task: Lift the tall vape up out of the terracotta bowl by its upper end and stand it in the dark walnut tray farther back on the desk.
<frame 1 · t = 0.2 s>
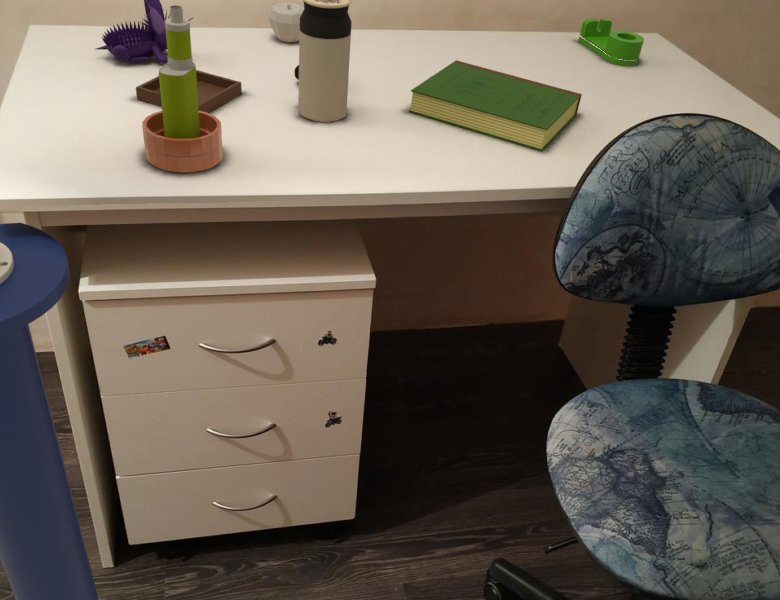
vape: (184, 156, 117), resting in bowl
tray: (190, 96, 133), on the table
hardcover book: (492, 114, 140), on the table
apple: (288, 40, 159), on the table
green stand: (609, 53, 171), on the table
tape measure: (318, 87, 142), on the table
travel mug: (322, 114, 133), on the table
creature: (147, 59, 144), on the table
bowl: (184, 157, 117), on the table
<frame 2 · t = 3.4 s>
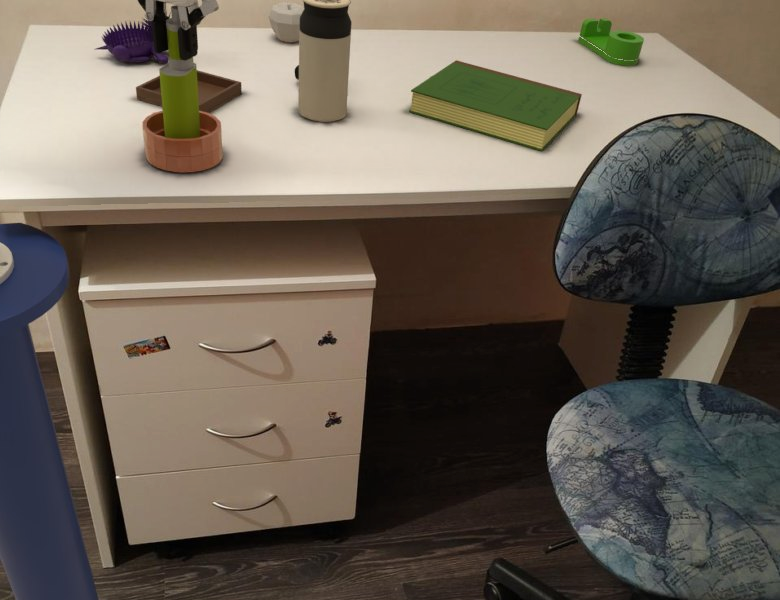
hand: (176, 52, 107), 15 cm above the table, tool pointing down, fingers closed on vape, 3 cm apart
vape: (184, 156, 117), resting in bowl, touching gripper
everything else where it was.
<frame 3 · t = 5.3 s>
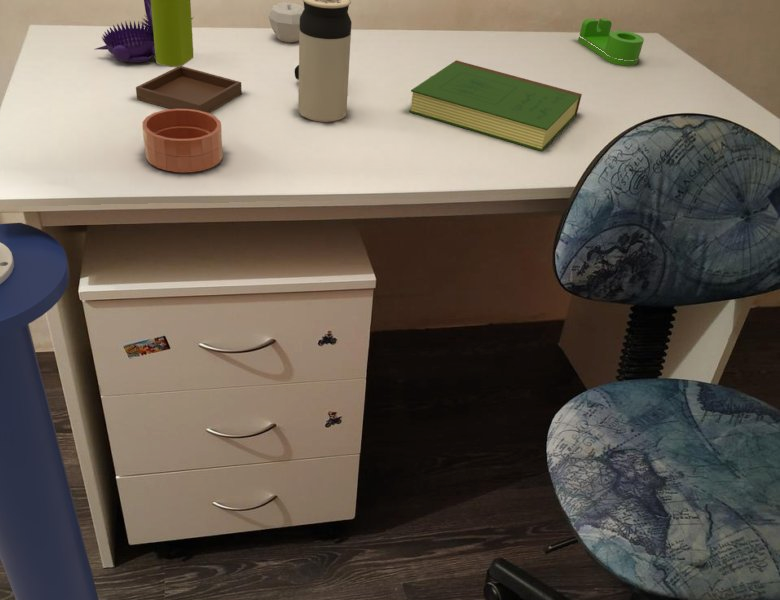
vape: (175, 60, 108), point 14 cm above the table, touching gripper
everything else where it was.
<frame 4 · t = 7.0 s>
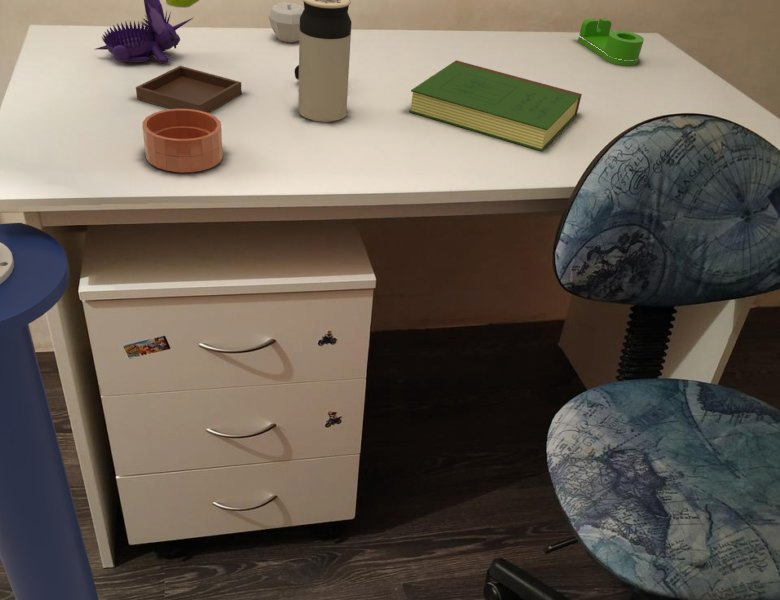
vape: (183, 3, 121), point 15 cm above the table, touching gripper
everything else where it was.
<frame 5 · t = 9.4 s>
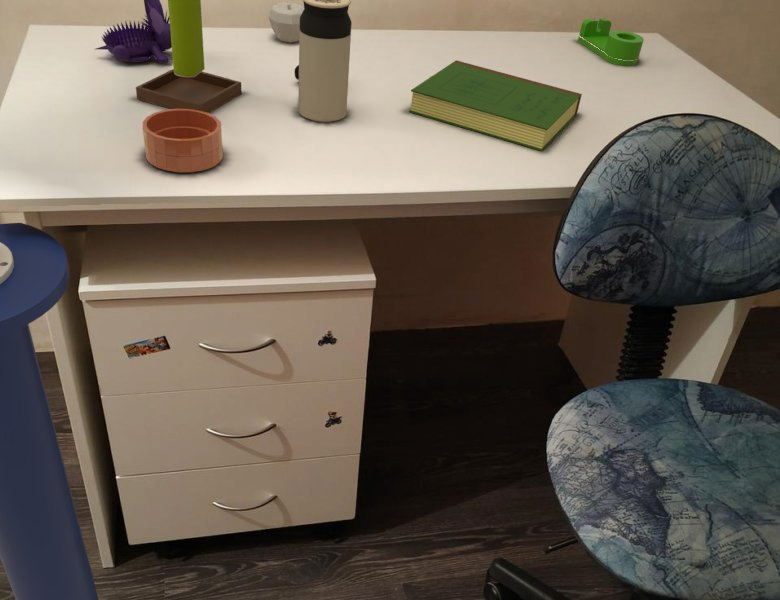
vape: (189, 71, 131), point 4 cm above the table, touching gripper
everything else where it was.
when the fingers open (15 cm above the table, at t = 10.7 s): vape stays where it is, resting on tray.
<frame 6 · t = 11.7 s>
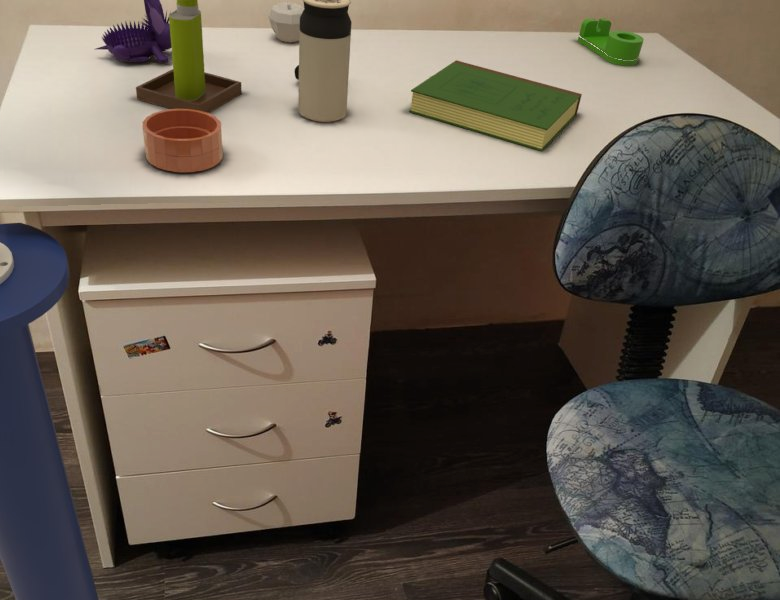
vape: (191, 95, 133), resting on tray
everything else where it was.
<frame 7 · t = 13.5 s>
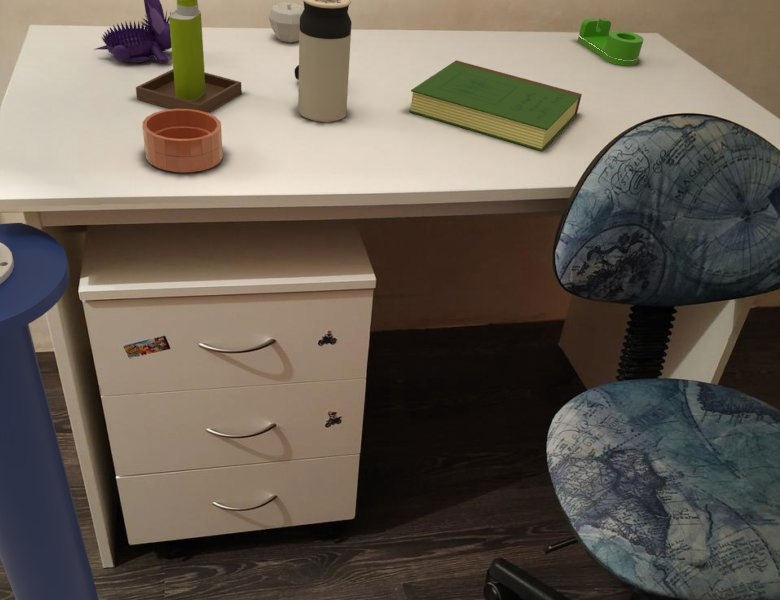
nothing on the table moved.
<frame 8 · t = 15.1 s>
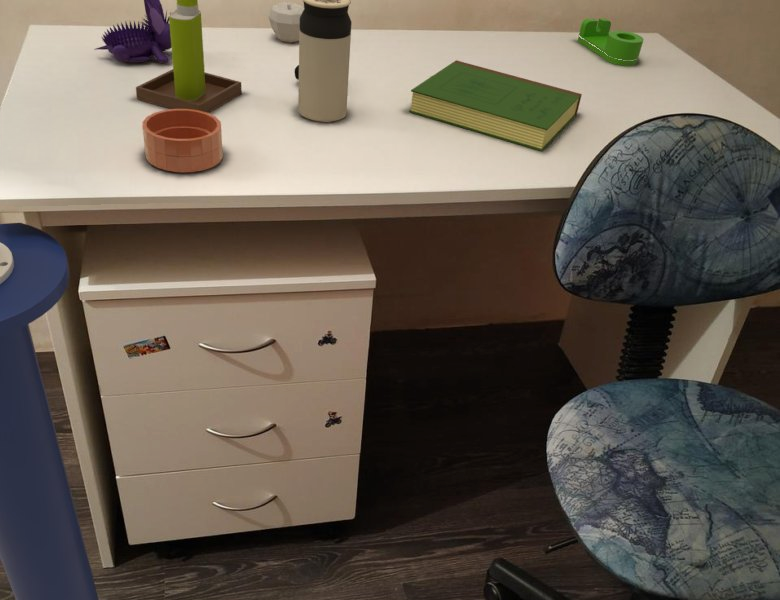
nothing on the table moved.
at the end: vape inside the target area in the tray (0.2 cm from its centre), point 0.3 cm above the tray's base; vape touching tray; the gripper is holding nothing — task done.
